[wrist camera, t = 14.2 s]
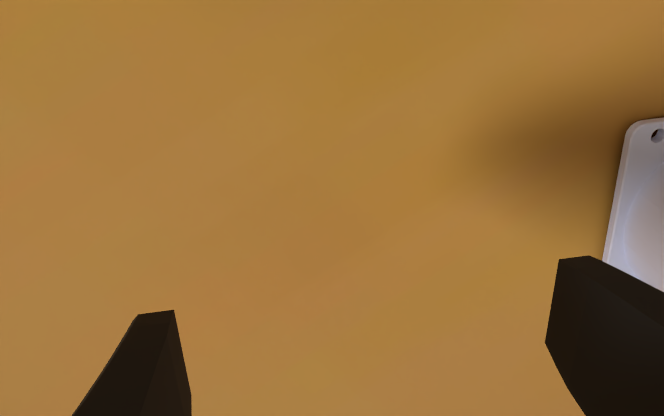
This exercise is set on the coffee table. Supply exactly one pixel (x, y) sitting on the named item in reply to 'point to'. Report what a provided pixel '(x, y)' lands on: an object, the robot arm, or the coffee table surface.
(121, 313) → the coffee table surface
